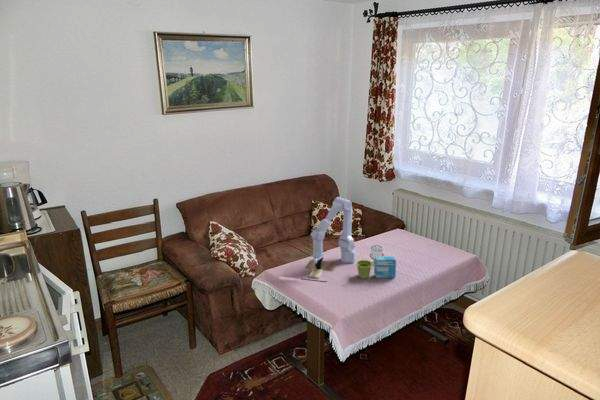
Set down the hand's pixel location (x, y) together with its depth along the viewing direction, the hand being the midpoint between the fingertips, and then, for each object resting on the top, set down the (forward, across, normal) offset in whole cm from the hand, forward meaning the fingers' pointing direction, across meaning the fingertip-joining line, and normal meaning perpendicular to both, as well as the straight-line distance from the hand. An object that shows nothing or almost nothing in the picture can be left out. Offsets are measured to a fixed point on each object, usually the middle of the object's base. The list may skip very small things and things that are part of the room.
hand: (318, 269), depth 256 cm
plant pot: (+2, -1, +28) cm, 28 cm away
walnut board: (+2, -7, 0) cm, 7 cm away
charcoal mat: (+2, +6, 0) cm, 6 cm away
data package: (+2, -4, +40) cm, 40 cm away
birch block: (+2, +6, 0) cm, 6 cm away
